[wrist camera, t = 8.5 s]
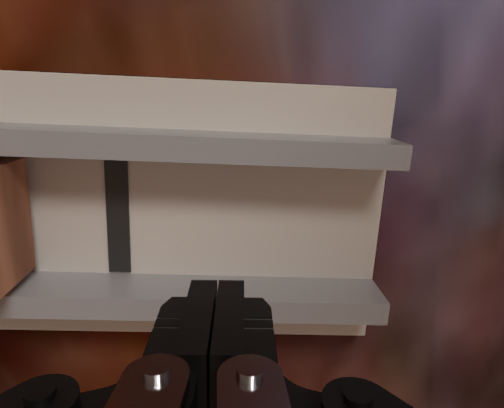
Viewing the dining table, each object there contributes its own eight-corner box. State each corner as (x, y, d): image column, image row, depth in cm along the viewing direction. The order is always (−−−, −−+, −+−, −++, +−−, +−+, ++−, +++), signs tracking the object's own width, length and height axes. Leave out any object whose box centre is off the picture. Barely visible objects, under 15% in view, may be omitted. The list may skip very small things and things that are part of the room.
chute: (388, 88, 19) (439, 89, 15) (359, 324, 23) (393, 390, 18) (-219, 60, 18) (-384, 51, 13) (-159, 315, 21) (-275, 383, 16)
